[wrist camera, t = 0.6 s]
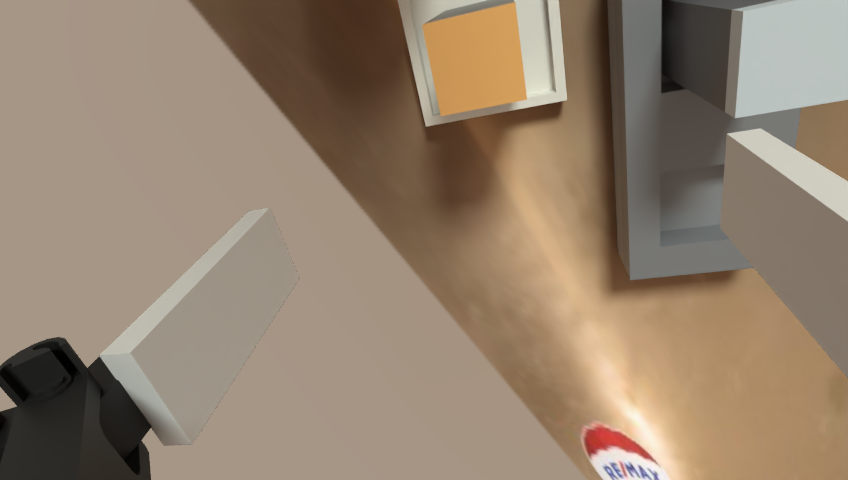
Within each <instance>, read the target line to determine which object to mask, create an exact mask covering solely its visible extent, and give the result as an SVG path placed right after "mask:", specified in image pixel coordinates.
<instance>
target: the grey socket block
mask: <svg viewBox="0 0 848 480" xmlns="http://www.w3.org/2000/svg"><path fill="white" fill-rule="evenodd" d="M607 6H608V30H609V54H610V78H611V102H612V126H613V150H614V174H615V199H616V223H617V247H618V253H619V255H620V258H621V260H622V262H623V265H624V267H625V269H626V272H627V274H628V276H629V279H630V280H638V279H648V278H658V277H668V276H678V275H688V274H698V273H708V272H717V271H727V270H737V269H747V268H754V267H753V266H752V265H751V264H750V263H749V261H748V260H747V259H746V258H745V257H744V256H743V254H742V253H741V252H740V251H739V250H738V248H737V247H736V246H735V245H734V244H733V243H732V241H731V240H730V239H729V238H728V237H727V236H726V234H725V233H724V232H723V231H722V230H721V228H720V219H721V205H722V192H723V179H724V165H725V152H726V138H727V134H728V133H734V132H741V131H747V130H753V129H759V128H761V129H763V130H764V131H766V132H768V133H769V134H771V135H772V136H774V137H776V138H777V139H779V140H781V141H782V142H784V143H786V144H787V145H789V146H790V147H792V148H794V149H795V146H796V139H797V132H798V125H799V118H800V111H801V107H800V108H794V109H788V110H782V111H776V112H770V113H764V114H758V115H752V116H746V117H740V118H734V117H732V116H730V115H729V114H727V113H725V112H724V111H722V110H720V109H719V108H717V107H716V106H714V105H712V104H711V103H709V102H707V101H706V100H704V99H702V98H701V97H699V96H697V95H696V94H694V93H692V92H691V91H689V90H687V89H686V88H684V87H683V86H681V85H679V84H678V83H676V82H674V81H673V80H671V79H669V78H668V77H666V76H664V75H663V74H662V10H663V0H607Z"/></svg>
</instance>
